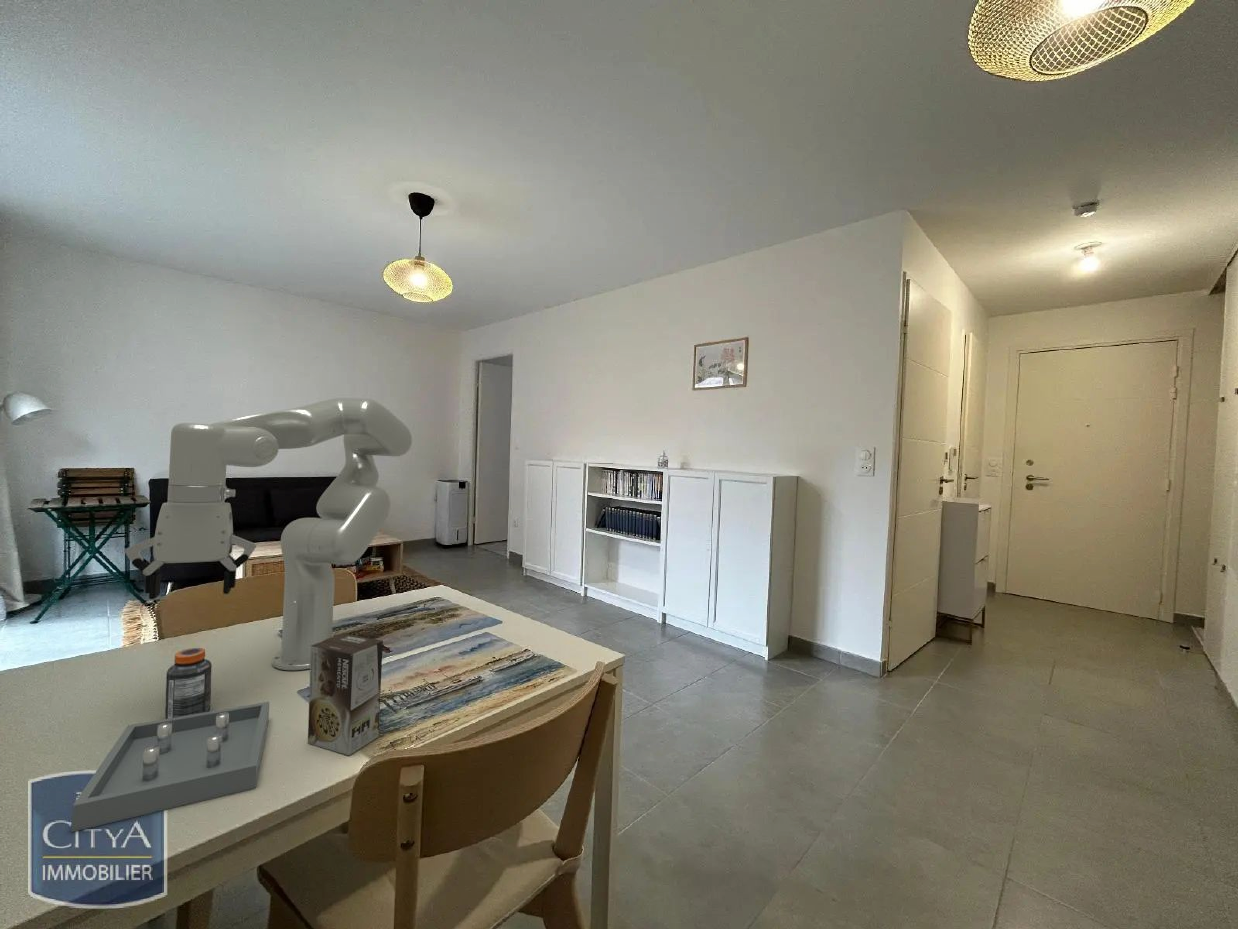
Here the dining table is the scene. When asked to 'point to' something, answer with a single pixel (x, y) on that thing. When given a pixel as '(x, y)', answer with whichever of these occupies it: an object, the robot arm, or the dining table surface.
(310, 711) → the coffee box
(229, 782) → the pin tray
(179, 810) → the dining table surface
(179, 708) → the pill bottle
